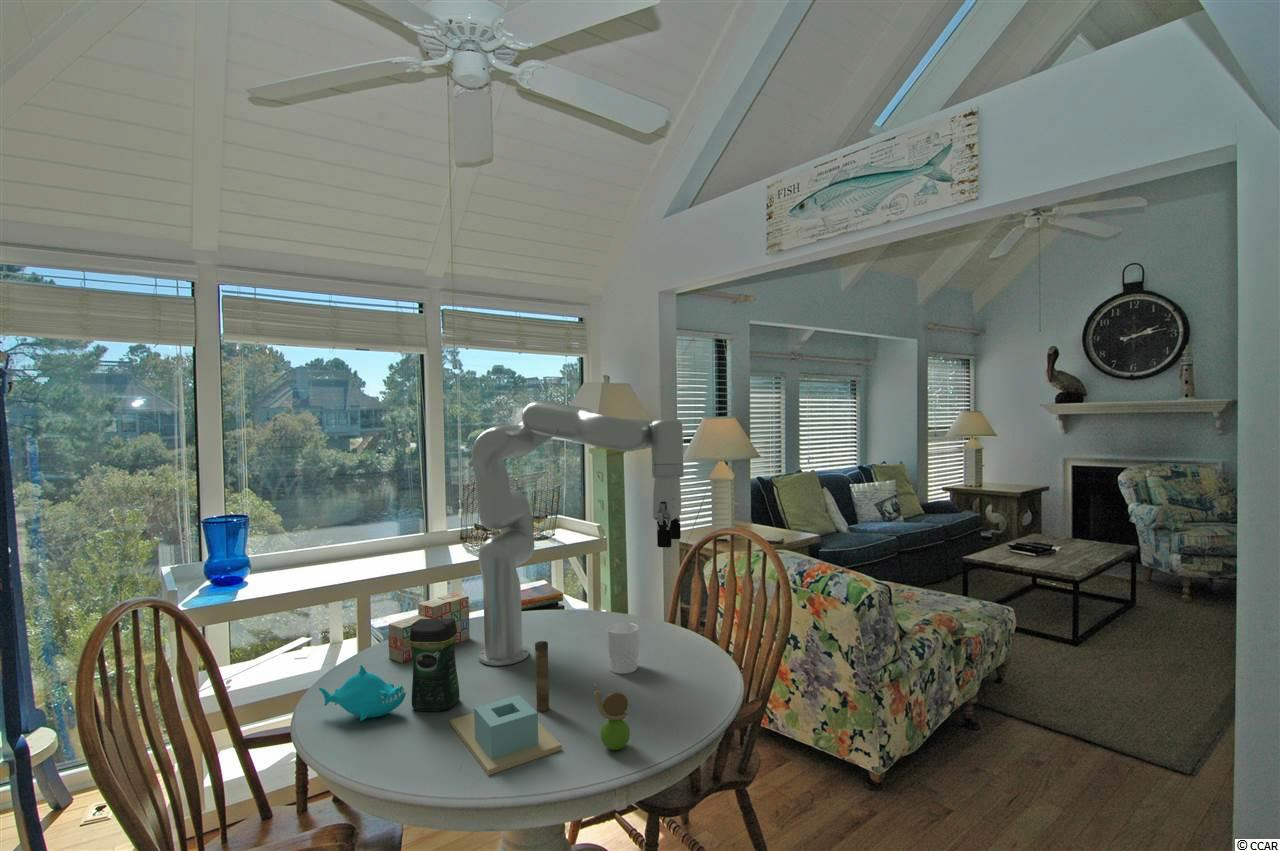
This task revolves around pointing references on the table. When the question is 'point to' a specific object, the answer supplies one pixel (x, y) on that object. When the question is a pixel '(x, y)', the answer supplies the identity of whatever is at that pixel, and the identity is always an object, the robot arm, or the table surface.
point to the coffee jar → (434, 664)
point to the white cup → (623, 647)
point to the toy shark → (366, 695)
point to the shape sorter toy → (505, 734)
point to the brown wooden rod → (542, 676)
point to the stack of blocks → (431, 609)
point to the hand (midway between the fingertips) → (669, 542)
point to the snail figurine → (613, 719)
